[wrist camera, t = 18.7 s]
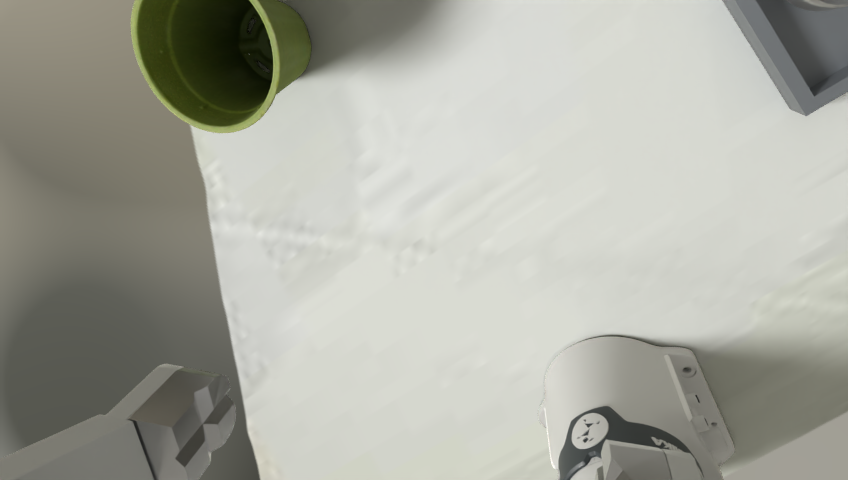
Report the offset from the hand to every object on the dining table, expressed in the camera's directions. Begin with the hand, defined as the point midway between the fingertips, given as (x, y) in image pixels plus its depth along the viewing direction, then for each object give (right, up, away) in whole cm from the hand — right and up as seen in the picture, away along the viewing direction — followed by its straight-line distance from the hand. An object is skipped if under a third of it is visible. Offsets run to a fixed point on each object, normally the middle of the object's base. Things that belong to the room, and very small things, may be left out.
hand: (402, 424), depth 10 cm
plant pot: (-13, +23, +35) cm, 43 cm away
